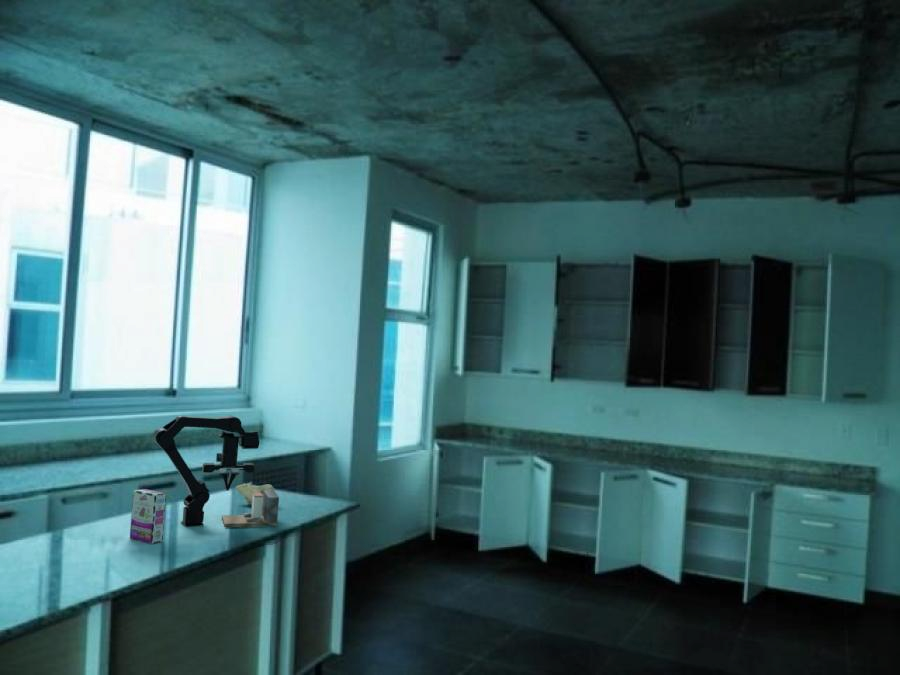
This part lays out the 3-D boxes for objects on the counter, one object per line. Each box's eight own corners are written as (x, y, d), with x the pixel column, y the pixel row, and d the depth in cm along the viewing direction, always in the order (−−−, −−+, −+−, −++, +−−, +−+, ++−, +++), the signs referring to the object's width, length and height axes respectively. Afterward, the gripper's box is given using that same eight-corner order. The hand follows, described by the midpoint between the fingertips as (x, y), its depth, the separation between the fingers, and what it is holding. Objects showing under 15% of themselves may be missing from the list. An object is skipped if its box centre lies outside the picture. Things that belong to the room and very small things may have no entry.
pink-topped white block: (252, 520, 275) (254, 495, 275) (251, 516, 280) (252, 492, 280) (261, 520, 276) (262, 495, 276) (259, 516, 281) (260, 492, 281)
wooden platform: (224, 527, 267) (226, 497, 268) (221, 519, 280) (223, 490, 280) (276, 526, 275) (279, 497, 275) (271, 518, 287) (273, 490, 287)
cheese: (280, 512, 306) (273, 484, 317) (277, 502, 301) (270, 474, 311) (243, 523, 302) (238, 494, 312) (240, 513, 297) (234, 484, 307)
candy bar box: (163, 541, 245) (167, 492, 245) (151, 544, 241) (155, 495, 241) (141, 535, 250) (144, 487, 250) (128, 538, 246) (132, 489, 246)
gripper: (252, 446, 287) (250, 485, 287) (203, 445, 280) (200, 486, 280) (256, 450, 277) (253, 491, 277) (204, 450, 270) (201, 492, 270)
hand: (227, 490), depth 276 cm, fingers closed
